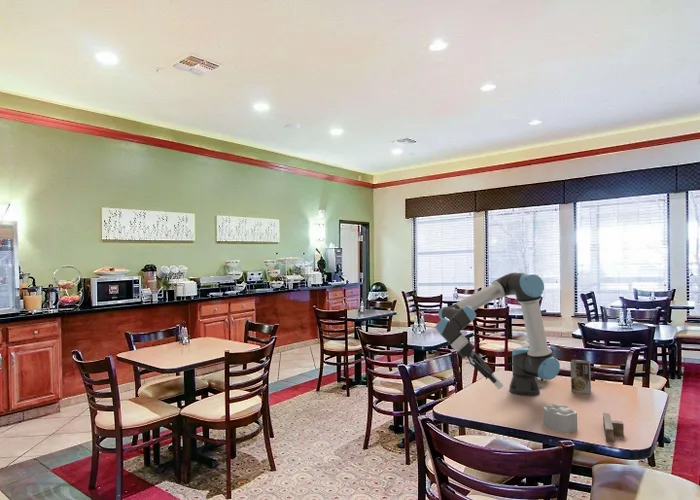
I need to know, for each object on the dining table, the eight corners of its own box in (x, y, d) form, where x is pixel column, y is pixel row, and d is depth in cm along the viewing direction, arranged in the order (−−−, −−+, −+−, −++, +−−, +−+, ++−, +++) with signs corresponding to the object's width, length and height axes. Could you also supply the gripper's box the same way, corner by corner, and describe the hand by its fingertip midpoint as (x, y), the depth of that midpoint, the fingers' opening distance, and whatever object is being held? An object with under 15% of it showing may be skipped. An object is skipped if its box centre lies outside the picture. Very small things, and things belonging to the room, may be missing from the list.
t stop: (606, 441, 172) (605, 428, 172) (603, 424, 190) (603, 412, 190) (625, 444, 169) (625, 431, 169) (621, 427, 187) (620, 415, 187)
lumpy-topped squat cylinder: (564, 434, 180) (564, 412, 180) (537, 424, 191) (536, 404, 192) (580, 429, 185) (580, 408, 185) (553, 420, 196) (552, 400, 197)
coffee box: (591, 391, 239) (590, 360, 239) (590, 394, 233) (589, 363, 234) (572, 388, 243) (571, 359, 244) (570, 391, 238) (570, 361, 238)
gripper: (460, 349, 214) (497, 388, 206) (454, 354, 203) (492, 396, 195) (471, 339, 212) (509, 378, 204) (465, 343, 200) (505, 385, 192)
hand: (501, 387), depth 199 cm, fingers closed
